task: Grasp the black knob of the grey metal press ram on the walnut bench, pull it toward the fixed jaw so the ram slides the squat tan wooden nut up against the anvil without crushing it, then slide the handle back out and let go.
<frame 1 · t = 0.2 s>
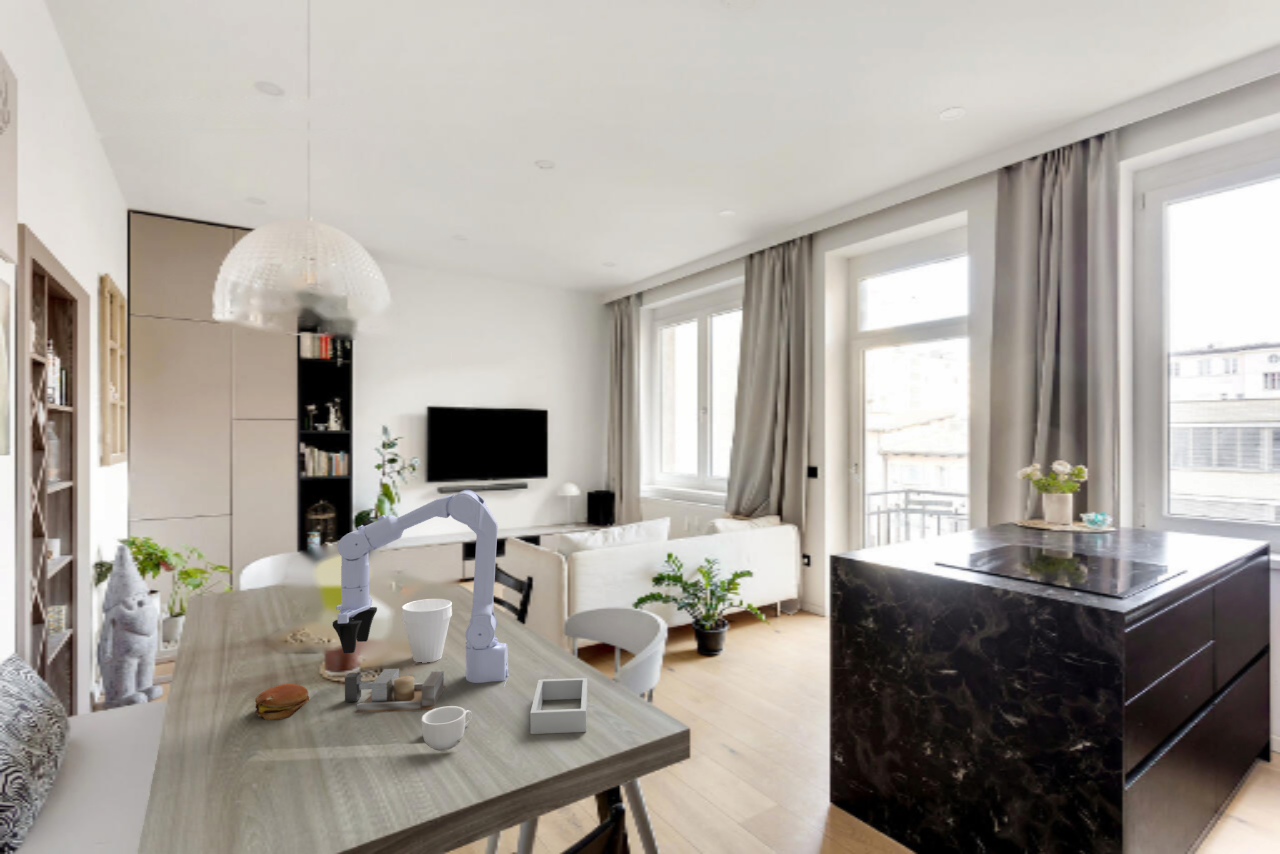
hand: (355, 646, 142), 10 cm above the table, tool pointing down, fingers open, 7 cm apart
nut: (404, 698, 135), point 1 cm above the table, touching bench
burger: (282, 712, 133), on the table
ram: (370, 686, 134), point 4 cm above the table, slide at 0.0 cm
white plant pot: (427, 659, 164), on the table
bench: (402, 705, 135), on the table
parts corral: (561, 714, 130), on the table
teacup: (449, 743, 119), on the table
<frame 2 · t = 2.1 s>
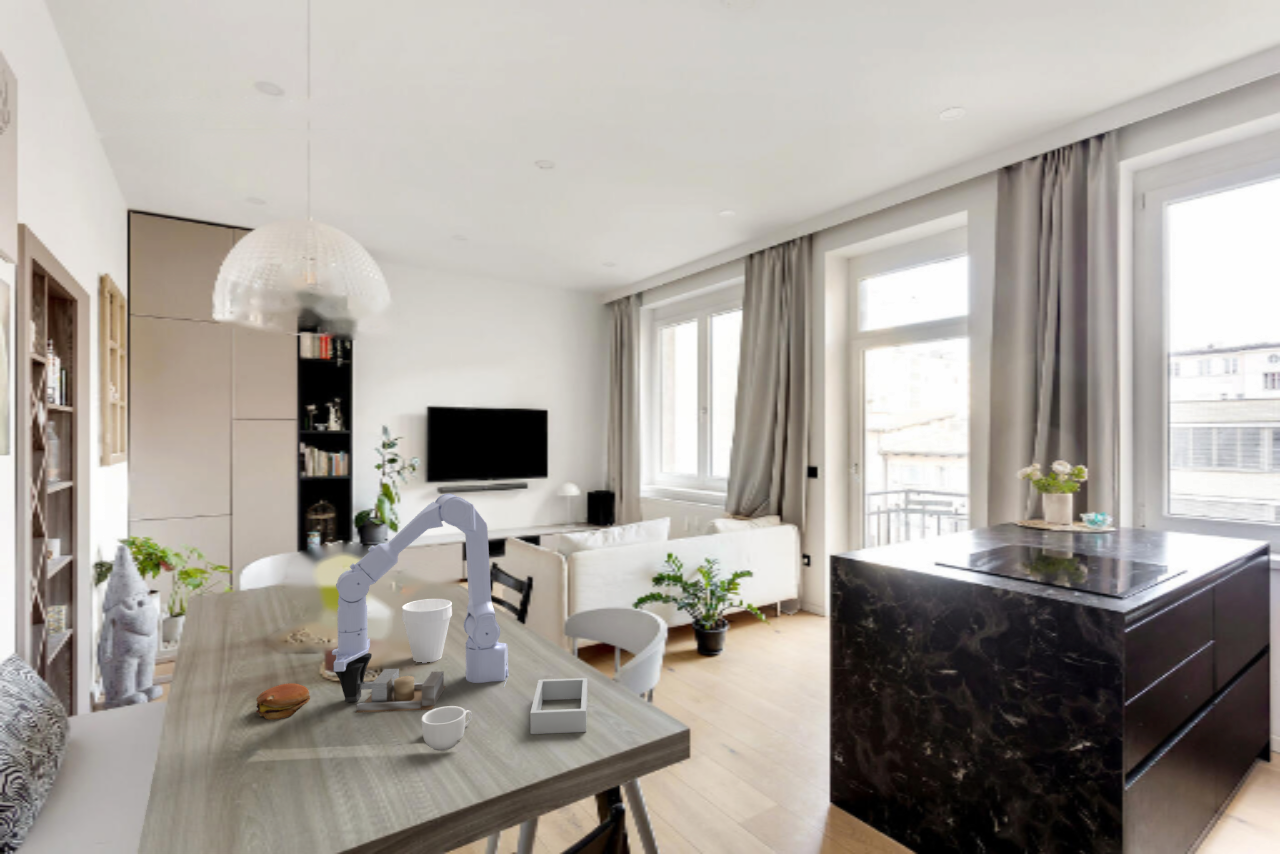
hand: (353, 693, 134), 3 cm above the table, tool pointing down, fingers closed on ram, 2 cm apart
ram: (370, 686, 134), point 4 cm above the table, slide at 0.0 cm, touching gripper
everything else where it was.
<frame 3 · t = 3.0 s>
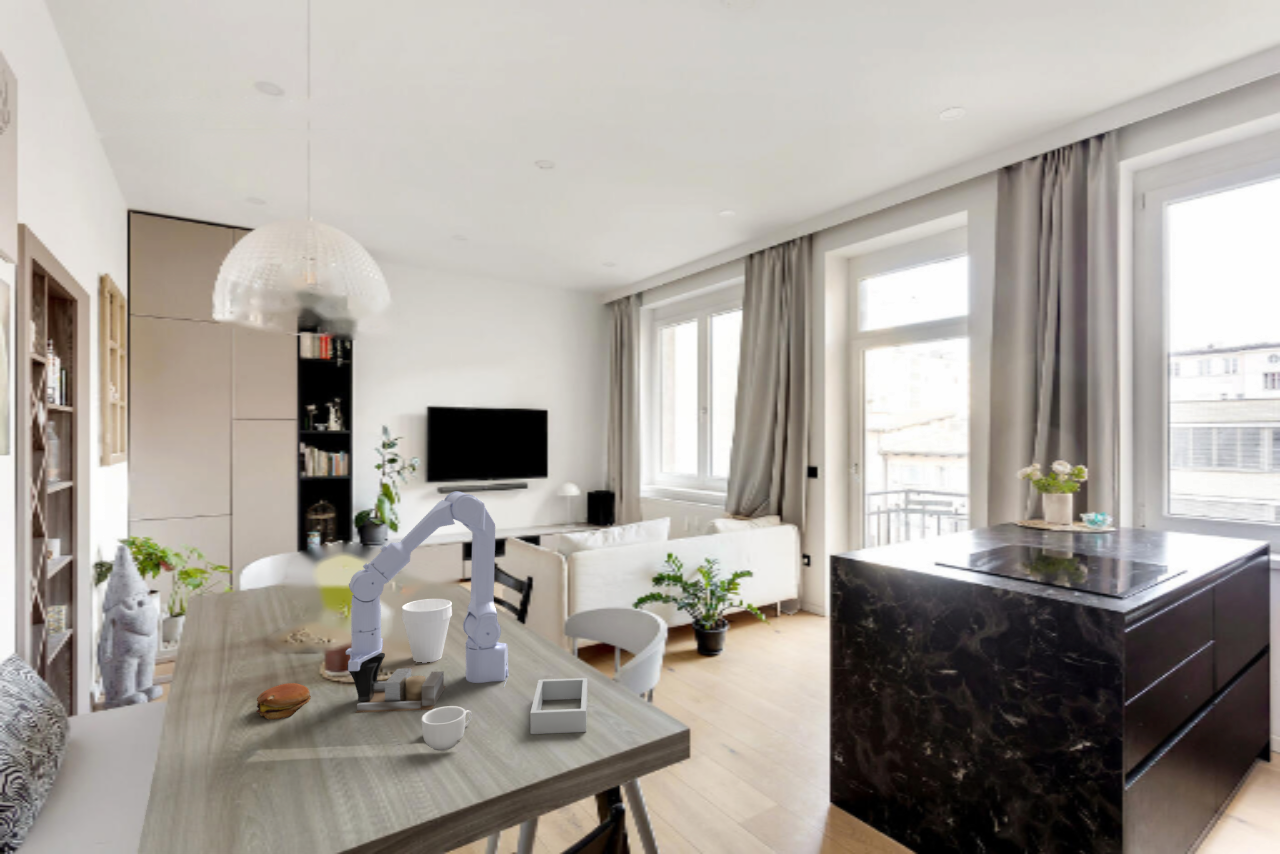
hand: (366, 693, 134), 3 cm above the table, tool pointing down, fingers closed on ram, 2 cm apart
nut: (415, 698, 135), point 1 cm above the table, touching bench, ram
ram: (383, 685, 135), point 4 cm above the table, slide at 2.6 cm, touching gripper, nut
everything else where it was.
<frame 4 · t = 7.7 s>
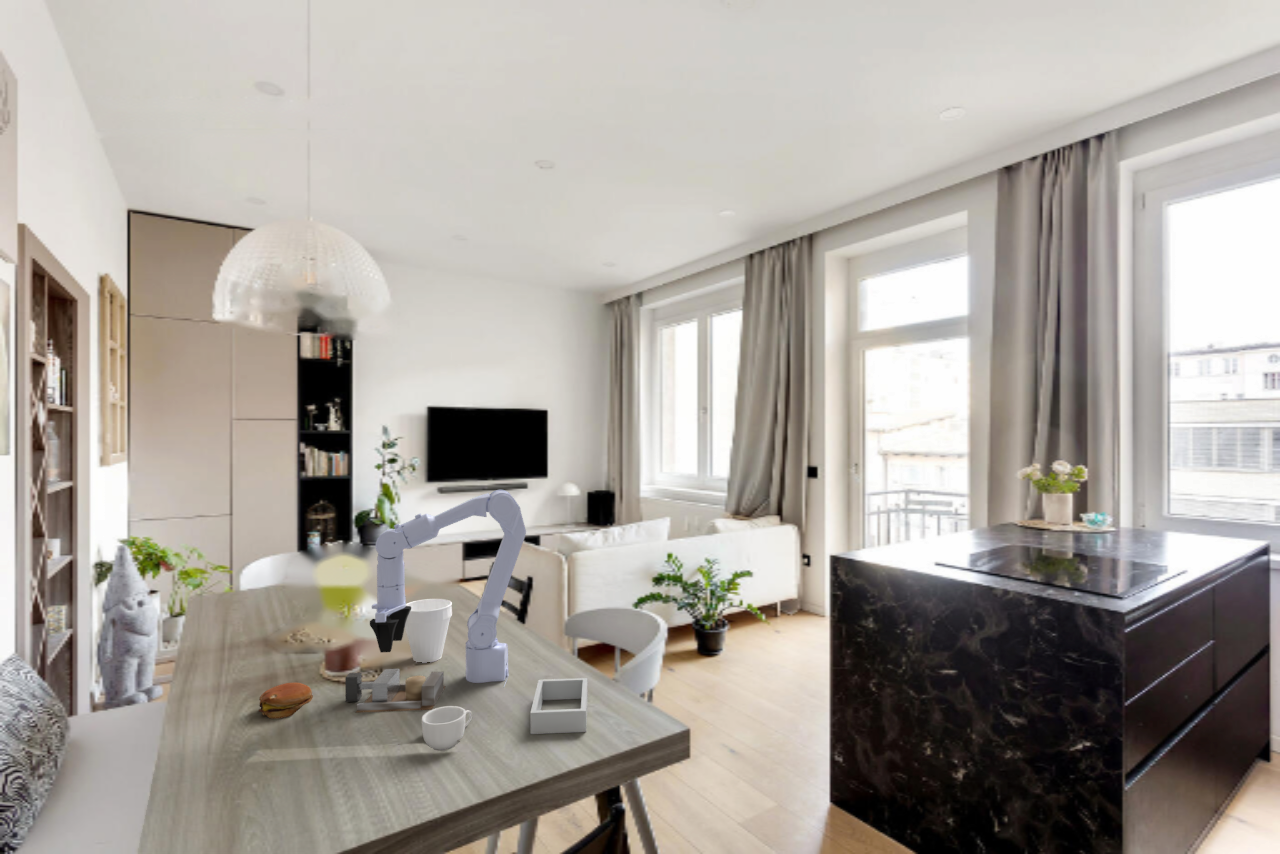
hand: (391, 645, 142), 10 cm above the table, tool pointing down, fingers open, 7 cm apart
nut: (415, 698, 135), point 1 cm above the table, touching bench
ram: (370, 686, 134), point 4 cm above the table, slide at 0.1 cm
everything else where it was.
at the end: ram slide at 0.1 cm; nut 0.1 cm from the target spot on the bench, point 1.5 cm above the bench's base; nut tilted 0° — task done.
